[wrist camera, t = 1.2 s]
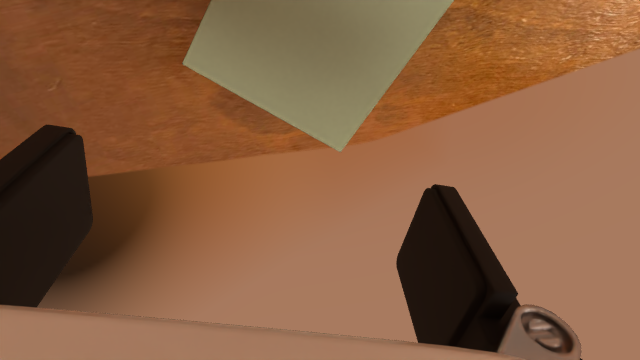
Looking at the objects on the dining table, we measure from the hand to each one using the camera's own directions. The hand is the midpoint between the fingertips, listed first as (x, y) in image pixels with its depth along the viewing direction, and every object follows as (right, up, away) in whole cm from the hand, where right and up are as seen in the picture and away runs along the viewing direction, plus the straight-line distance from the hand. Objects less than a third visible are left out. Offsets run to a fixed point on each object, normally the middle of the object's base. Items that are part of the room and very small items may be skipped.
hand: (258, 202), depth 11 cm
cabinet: (+1, +15, +20) cm, 25 cm away
